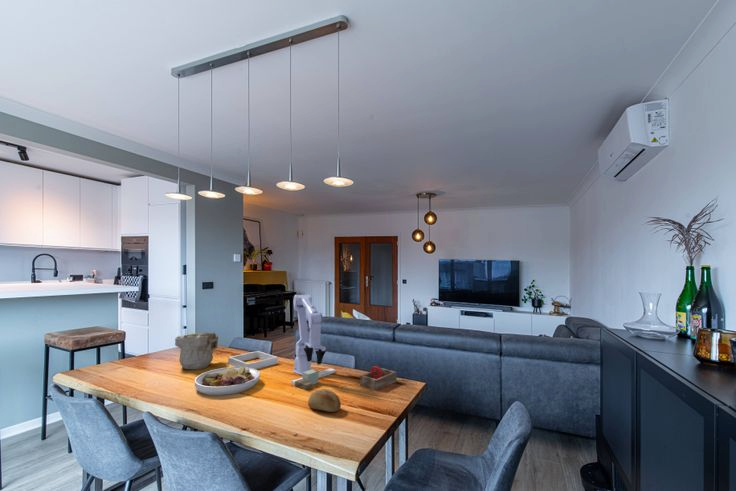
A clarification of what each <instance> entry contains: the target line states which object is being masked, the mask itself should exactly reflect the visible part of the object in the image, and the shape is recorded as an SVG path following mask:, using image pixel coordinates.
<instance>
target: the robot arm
mask: <svg viewBox="0 0 736 491" xmlns="http://www.w3.org/2000/svg"><path fill="white" fill-rule="evenodd" d="M292 299H293V300H292V301H293V309H294V311H296V313H297V320H298V322H297V323H298V334H299V340H298V341H297V342H296V343H295V355H296V357H295V358H294V361H293V362H294V366H293V367H294V368H293V371H292V373H295V374H297V375H301V376H302V375H303V372H305V371H308V370H312V361H313V360H312V359H313V356H314V355H315V356H316V364H317V365H321V364H322V362H323V359H324V356H325V354H326V352H327V349H326V348H327V347H326V346H324V345H322V343H321V333H322V332H321V331H322V328H321V327H322V324H323V322H324V321H323V320H324V319H323V318H324V317H323V313H322V312H319V311H318V310H317V308H316V306H315V305H313V304H312V303H313V301H312V300H313V298H312V295H311V294H294V296H293V298H292ZM307 318H308V322H307ZM308 327H309V332H308Z"/></svg>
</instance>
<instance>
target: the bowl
mask: <svg viewBox="0 0 736 491" xmlns="http://www.w3.org/2000/svg"><path fill="white" fill-rule="evenodd" d="M260 373H261V372H260V371H259V369H253V368H248V367H235V366H230V367H222V368H217V369H211V370H209V371H208V370H207V371H206V372H202V373H201V374H199V375H198V376H196V377H195V379H194V387H195V389H196V390H197V391H198V392H200V393H201V394H203V395H208V396H229V395H235V394H239V393H243V392H246V391H247V390H250V389H252V388H253V387H255V386H256V385H257V383H258V382H259V380H260V378H261V374H260Z"/></svg>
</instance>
